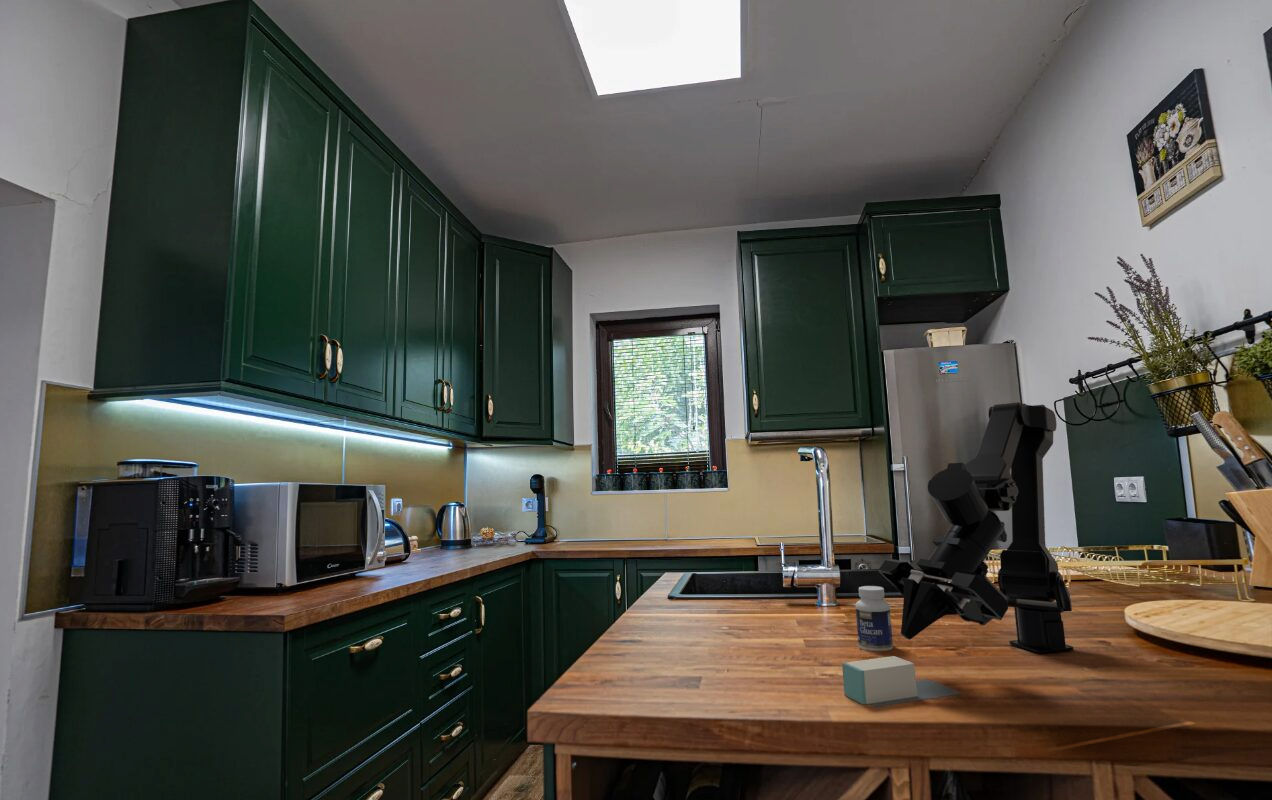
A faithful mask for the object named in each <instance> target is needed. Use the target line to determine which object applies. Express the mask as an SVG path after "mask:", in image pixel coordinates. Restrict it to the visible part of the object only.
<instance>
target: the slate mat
mask: <svg viewBox="0 0 1272 800" xmlns="http://www.w3.org/2000/svg"><path fill="white" fill-rule="evenodd" d="M916 688H917V696H915V697H909V698H903V699H896V700H890V701H883V702H877V703H870V704H869V705H870V706H872V707H874V708H879V707H887V706H893V705H899V704H906V703H912V702H913V703H914V702H919V701H925V700H931V699H937V698H944V697H951V696H956V695H963V694H964V693H963V692H960V691H958V690H955V689H953V688H950V687H948V686H946V685H944V684H941V683H939V682H935V681H934V680H933V681H932V680H930V679H928V678H925V679H918V680H917V679H916Z"/></svg>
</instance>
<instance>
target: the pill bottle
mask: <svg viewBox="0 0 1272 800" xmlns="http://www.w3.org/2000/svg"><path fill="white" fill-rule="evenodd" d="M858 596H859V598H860V599H859V600H858V601H856V603H855V617H856V629H857V644H858V648H859V649H861V650H862V651H864V650H866V651H870V652H871V651H872V652H886V651H890V650H893V648H894V643H893V630H892V618H891V607H890V603H888V601H886V600H884V598H885V589H884V587H882V586H878V585H877V586H876V585H863V586H859V587H858Z"/></svg>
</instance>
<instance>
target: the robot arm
mask: <svg viewBox="0 0 1272 800" xmlns="http://www.w3.org/2000/svg"><path fill="white" fill-rule="evenodd" d="M987 421H988V422H987V424H986V427H985V430H984V433H983V435H982V438H981V442H980V445H979V447H978V450H977V453H976V455H975V457H974V458H973V459H971V460H970V461H967V462H966V463H964V462H948V464H947V467H946V468H945V469H943V470H940V471H939V472H937V473H935V474H934V476H932V478H931V479H930V480H928V483H927V491H928V493H929V495H930V497H931V499H932V500H933V502H934V503H935V505H936V507H937V508H938V510H939V512H940V513H941V515H942V517H943V519H944V520H945V522H946V523H949V524H950V526H949V528H948V529H947V531H946V532H945V533H944V536H941V535H940V536H938V535H937V536H936V535H935V536H934V537H933V539H932V543H933V544H934V545H935V546H936V547H935V548H934V550H933V551H932V553H931V555H930V556H929V557H928V559H925V558H920V559H919V560H918V561H917V562H916V565H917V566H918V568H919V569H920V570H916V569H915V567H913V566H912V565H911V564H910V563H909V562H908V561H904V560H899V559H892V558H891V559H885V560H884V561H883V563H882V564H881V566H880V567H879V569H878V573H879V574H880V575H882V577H883V578H885V579H886V581H888V583H889V584H891V586H892V587H893V588H895V589H896V590H897V592H899V593H900V594H901V595H902V596H903V603H902V605H903V606H902V615H901V616H902V617H901V627H900V634H901V636H902V637H903V638H904V639H906V640H909V641H910V640H911V639H913V638H915V637H916V636H917V635H918V634H920V633H921V632H923V631H924V630H925V629H927V628H928V627H929V626H931V625H932V624H933V623H935V622H937V621H938V620H940V619H941V618H943V617H945V616H955V615H956V616H959V617H960V618H961V619H962V620H963V621H965V622H968V623H969V622H970V623H971V622H972V623H976V624H979V625H980V626H985V625H987V624H988V623H990V622H991V621H992V620H993V619H994V620H997V621H1002V619H1003V618H1004V617H1005V614H1006V613H1007V612H1008V610H1009V608H1013V609H1014V610H1013V611H1014V616H1015V617H1014V619H1015V628H1016V637H1017V639H1013V640H1009V641H1008V643H1009V644H1010V645H1012V646H1015V647H1018V648H1021V649H1023V650H1027V651H1031V652H1034V653H1036V654H1045V653H1047V654H1048V653H1055V652H1056V653H1057V652H1066V651H1073V650H1075V649H1074V646H1073V645H1069V644H1067V643H1066V636H1065V627H1064V620H1062V619H1063V618H1062V613H1064V612H1072V611H1073V606H1072V600H1071V599H1072V598H1071V594H1070V591H1069V589H1068V586H1067V584H1066V581H1064V578H1063V576H1062V574H1061V572H1059V564H1058V562H1057V561H1056V559H1055V558H1054V556H1053V555H1052V553H1051V552H1050V550H1049V549H1048V548H1047V546H1046V527H1045V525H1046V524H1045V523H1046V522H1045V521H1046V520H1045V495H1044V492H1045V491H1044V490H1045V489H1044V465H1043V464H1044V463H1043V462H1044V461H1043V460H1044V459H1043V458H1045V456H1046V455H1047V454H1048V452H1049V450H1050V449H1051V448H1052V446H1053V445H1054V432H1056V431H1057V425H1058V424H1057V417H1056V413H1055V412H1054V410H1052V409H1050V408H1049V407H1047V406H1046V405H1044V404H1035V405H1030V404H1026V403H1024V402H1023V403H1021V402H1020V401H1019V402H1010V403H1009V402H1008V403H997V404H993V406H990V407H989V409H988V420H987ZM1010 509H1011V536H1012V537H1011V538H1012V539H1011V543H1010V544H1009V545H1008V547H1007V548H1006V549H1002V550H1001V552H1000V554H999V559H1000V568H999V570H998V573H997V585H998V587H997V586H996V585H995V584H994V583H993V582H992V581H991V579H989V578H988V577H987V576H986V575H987V574H988V572H989V566H988V565H987V564H986V563H985V560H986V558H987V557H988V555H989V553H990V552H991V550H992V549H993V547H994V546H995V544H997V541H999V542H1002V543H1006V542H1007V539H1008V534H1007V532H1006V529H1005V522H1004V521H1001V519H1000V517H999V516H998V515H997V514H996V513H995V512H1008V511H1010ZM921 570H922V571H921Z"/></svg>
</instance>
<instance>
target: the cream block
mask: <svg viewBox="0 0 1272 800" xmlns="http://www.w3.org/2000/svg"><path fill="white" fill-rule="evenodd" d="M841 665H842V679H843V680H842V681H843V691H844V692H843V693H844V696H846V697H847V698H849V699H852V700H853V701H855V702H857V703H859V704H861V705H870V703H877V702H883V701H890V700H896V699H903V698H909V697H915V696H917V688H916V681H917V679H916V668H915V667H916V666H915V663H913V662H911V661H908V660H907V659H906V660H905V659H903V658H900V657H897V656H895V655H893V656H885V657H878V658H870V659H864V660H863V659H861V660H856V661H847V662H841Z"/></svg>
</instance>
